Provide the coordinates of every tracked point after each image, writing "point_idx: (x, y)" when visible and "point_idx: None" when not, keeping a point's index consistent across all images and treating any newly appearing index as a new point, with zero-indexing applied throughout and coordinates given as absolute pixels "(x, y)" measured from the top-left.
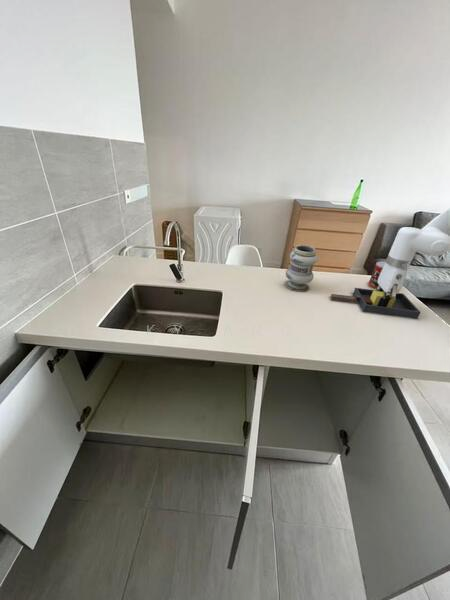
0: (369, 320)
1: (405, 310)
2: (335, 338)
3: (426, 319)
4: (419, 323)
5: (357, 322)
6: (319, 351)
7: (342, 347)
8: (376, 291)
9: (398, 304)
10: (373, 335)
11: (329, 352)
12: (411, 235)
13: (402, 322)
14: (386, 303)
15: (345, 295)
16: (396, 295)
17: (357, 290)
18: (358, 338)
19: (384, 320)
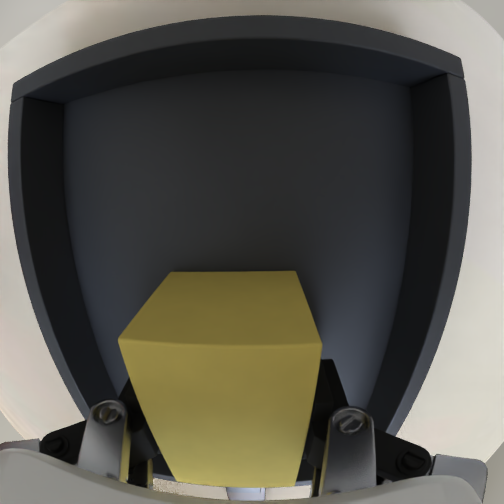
0: (433, 414)
1: (467, 223)
2: (468, 457)
3: (392, 7)
4: (469, 107)
5: (432, 442)
6: (482, 460)
7: (493, 440)
8: (184, 473)
9: (182, 146)
10: (499, 395)
11: (491, 450)
12: None
13: (477, 243)
14: (339, 382)
15: (229, 497)
16: (37, 149)
17: (156, 476)
18: (489, 424)
19: (449, 354)
